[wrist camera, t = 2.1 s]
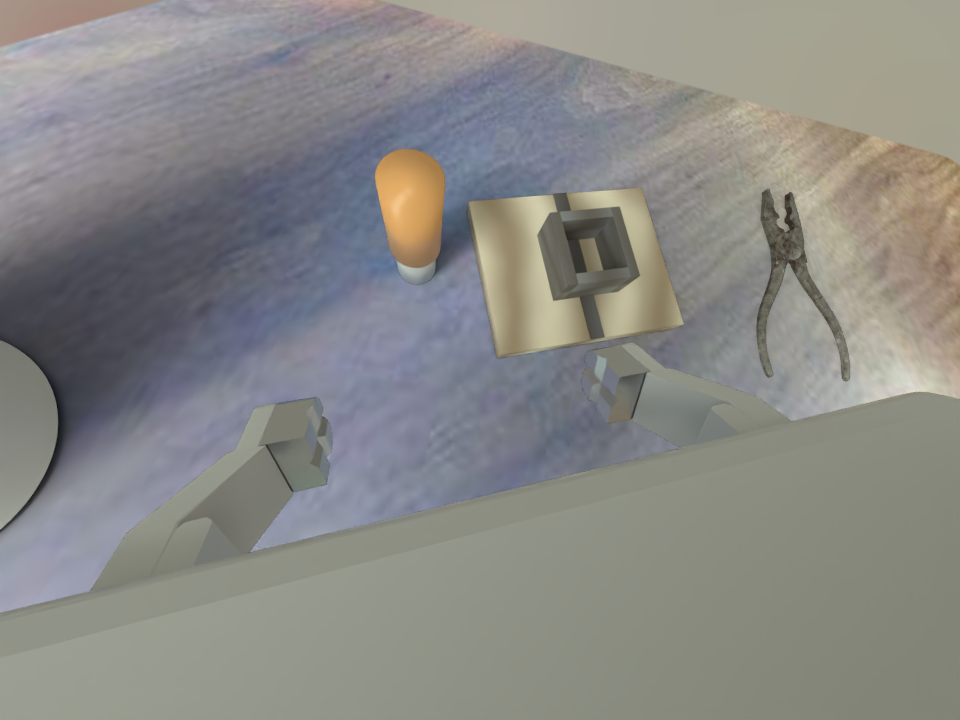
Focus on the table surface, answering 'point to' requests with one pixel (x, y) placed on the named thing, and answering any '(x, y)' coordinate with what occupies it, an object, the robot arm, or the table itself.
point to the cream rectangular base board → (570, 269)
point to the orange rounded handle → (412, 211)
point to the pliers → (792, 251)
